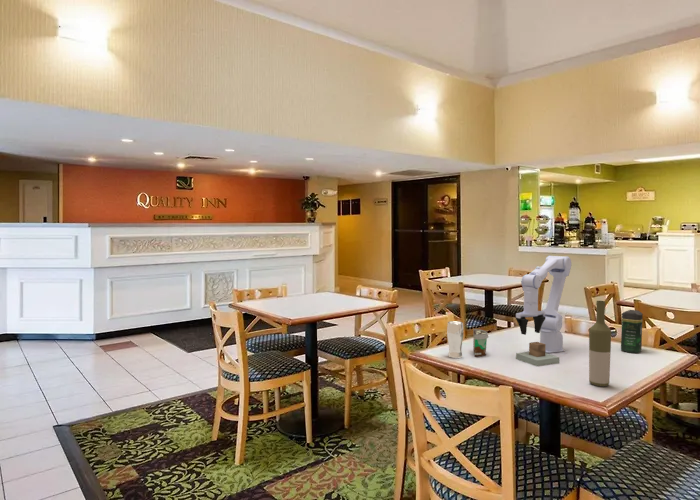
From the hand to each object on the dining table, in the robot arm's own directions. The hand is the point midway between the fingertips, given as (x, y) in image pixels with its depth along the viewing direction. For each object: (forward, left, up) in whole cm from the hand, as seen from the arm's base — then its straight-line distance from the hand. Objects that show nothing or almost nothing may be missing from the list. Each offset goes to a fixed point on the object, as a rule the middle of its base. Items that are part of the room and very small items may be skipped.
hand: (530, 333), depth 205 cm
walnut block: (+2, +6, -8) cm, 10 cm away
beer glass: (+30, -13, -11) cm, 34 cm away
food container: (+17, -12, -11) cm, 23 cm away
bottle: (+4, +38, -11) cm, 40 cm away
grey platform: (+2, +6, -11) cm, 13 cm away
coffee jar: (-49, +10, -11) cm, 51 cm away
